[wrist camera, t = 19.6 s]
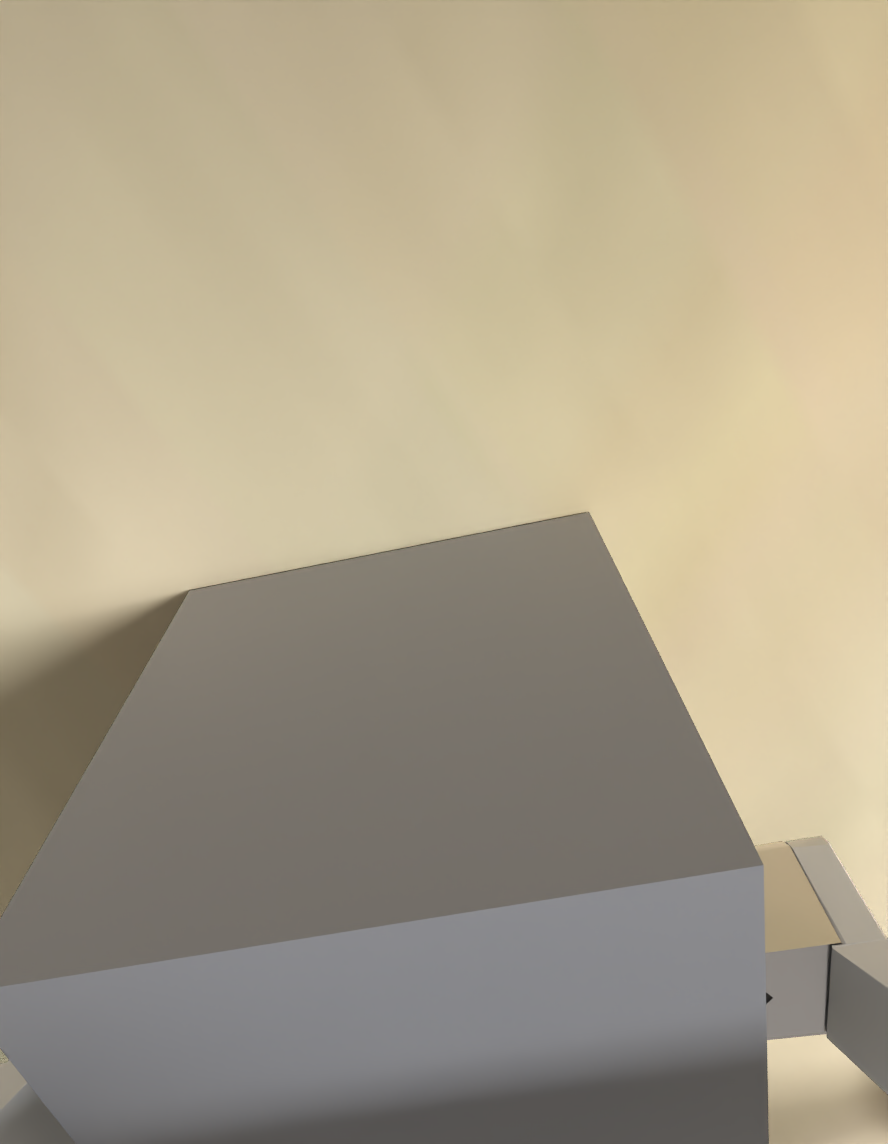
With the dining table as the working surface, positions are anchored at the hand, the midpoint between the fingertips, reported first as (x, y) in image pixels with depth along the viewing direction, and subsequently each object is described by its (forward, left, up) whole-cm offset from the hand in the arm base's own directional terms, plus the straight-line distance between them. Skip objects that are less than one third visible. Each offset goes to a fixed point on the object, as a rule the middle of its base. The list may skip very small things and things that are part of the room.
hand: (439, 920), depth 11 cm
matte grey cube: (0, 0, -5) cm, 5 cm away
